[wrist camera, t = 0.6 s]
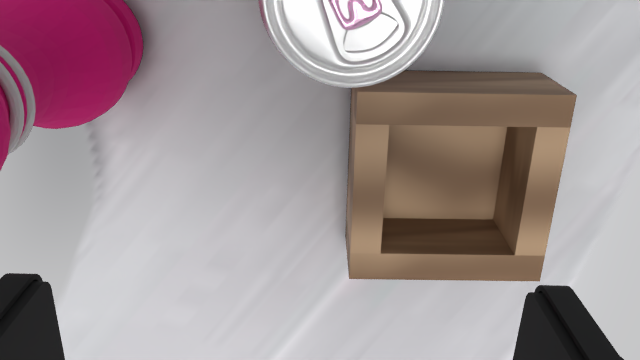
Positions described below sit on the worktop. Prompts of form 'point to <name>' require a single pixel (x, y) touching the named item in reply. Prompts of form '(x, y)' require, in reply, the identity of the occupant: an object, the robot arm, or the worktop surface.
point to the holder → (454, 175)
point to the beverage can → (351, 36)
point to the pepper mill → (62, 63)
